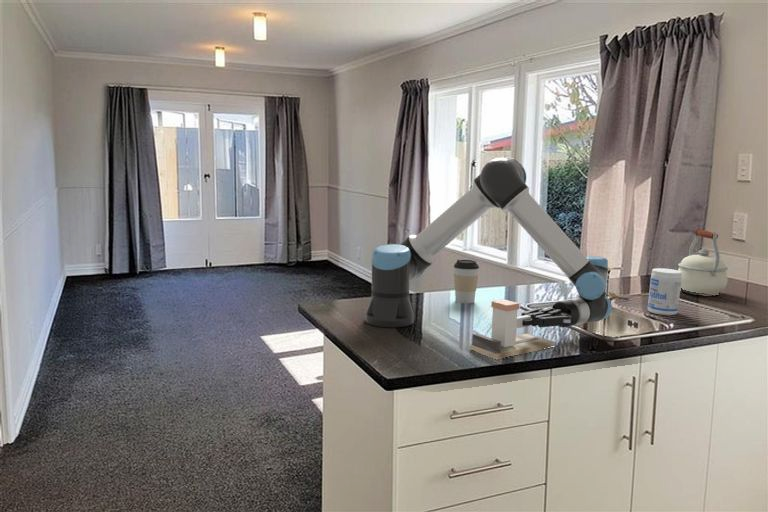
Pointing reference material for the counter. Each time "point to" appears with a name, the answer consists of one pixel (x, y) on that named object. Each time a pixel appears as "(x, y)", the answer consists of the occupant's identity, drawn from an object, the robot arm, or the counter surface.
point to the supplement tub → (664, 291)
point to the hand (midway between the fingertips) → (511, 323)
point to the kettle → (703, 268)
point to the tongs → (617, 296)
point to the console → (522, 346)
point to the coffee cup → (465, 280)
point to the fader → (504, 322)
